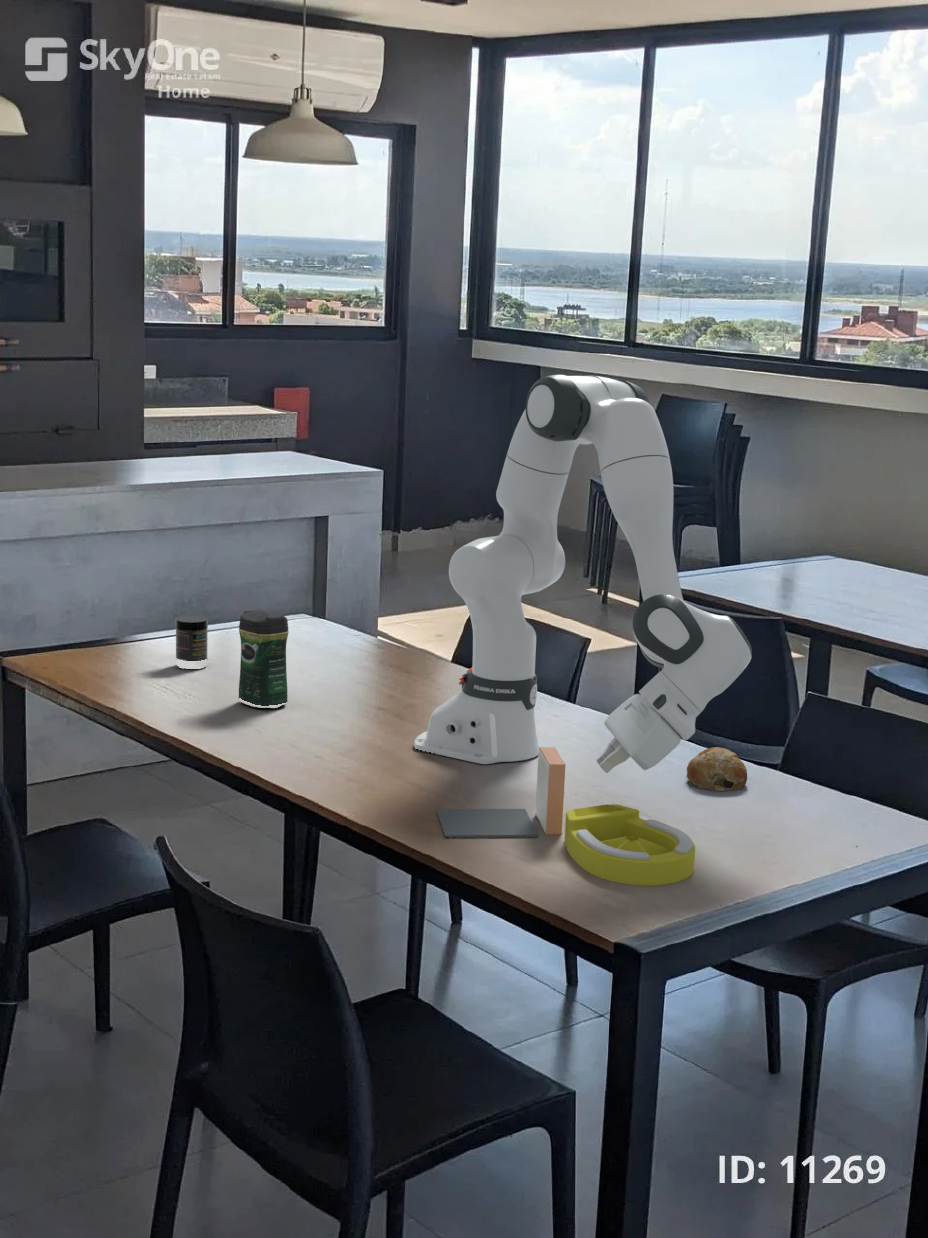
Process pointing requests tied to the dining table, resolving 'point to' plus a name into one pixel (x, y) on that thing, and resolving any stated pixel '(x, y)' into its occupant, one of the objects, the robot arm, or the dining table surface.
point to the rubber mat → (486, 823)
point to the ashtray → (628, 846)
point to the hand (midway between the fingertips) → (601, 767)
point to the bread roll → (717, 770)
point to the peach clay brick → (550, 790)
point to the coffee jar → (263, 657)
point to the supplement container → (191, 638)
